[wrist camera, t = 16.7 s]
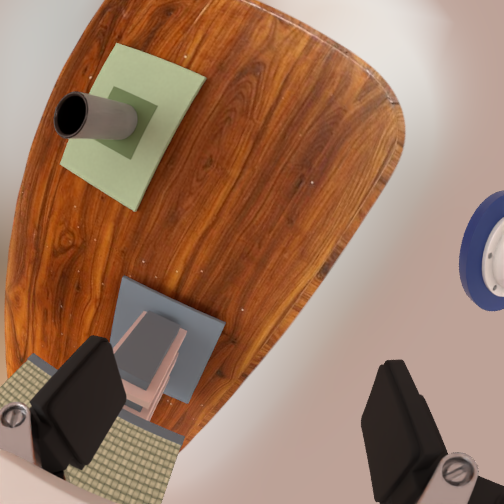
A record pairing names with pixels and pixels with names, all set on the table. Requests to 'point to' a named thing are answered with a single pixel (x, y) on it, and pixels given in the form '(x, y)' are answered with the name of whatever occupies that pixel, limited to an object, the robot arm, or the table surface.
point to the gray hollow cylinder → (93, 118)
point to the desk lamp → (137, 391)
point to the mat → (147, 129)
